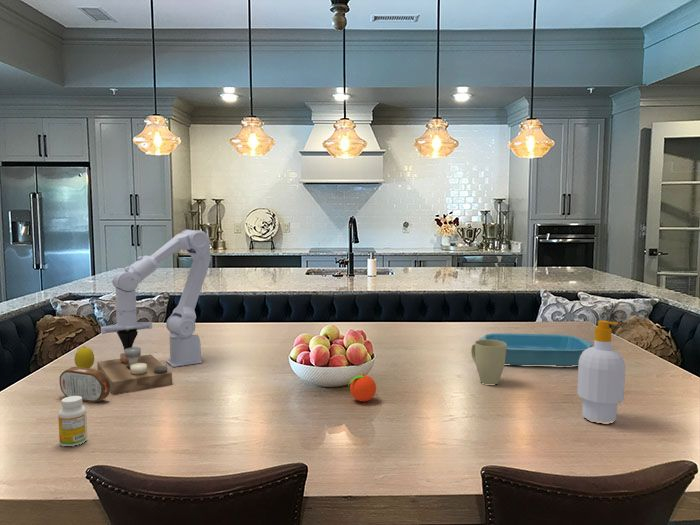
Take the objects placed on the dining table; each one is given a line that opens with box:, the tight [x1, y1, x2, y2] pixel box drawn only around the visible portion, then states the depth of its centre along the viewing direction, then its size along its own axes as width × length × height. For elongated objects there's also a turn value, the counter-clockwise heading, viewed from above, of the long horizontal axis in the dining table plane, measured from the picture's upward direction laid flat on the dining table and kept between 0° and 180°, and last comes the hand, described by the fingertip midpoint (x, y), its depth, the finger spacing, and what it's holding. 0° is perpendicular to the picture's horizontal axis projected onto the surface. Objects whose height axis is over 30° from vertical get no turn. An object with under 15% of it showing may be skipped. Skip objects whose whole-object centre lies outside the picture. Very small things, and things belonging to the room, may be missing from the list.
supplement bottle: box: [57, 396, 88, 447], centre depth 118 cm, size 5×5×10 cm
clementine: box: [347, 374, 377, 403], centre depth 145 cm, size 8×7×7 cm
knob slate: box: [124, 346, 142, 367], centre depth 163 cm, size 4×4×5 cm
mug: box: [470, 339, 507, 385], centre depth 161 cm, size 11×10×12 cm
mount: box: [96, 353, 173, 395], centre depth 163 cm, size 16×24×5 cm, turn 34°
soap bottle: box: [576, 319, 626, 422], centre depth 132 cm, size 10×10×24 cm
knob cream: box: [130, 363, 147, 375], centre depth 157 cm, size 4×4×5 cm
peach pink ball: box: [119, 352, 129, 364], centre depth 169 cm, size 4×4×5 cm
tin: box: [59, 366, 111, 403], centre depth 145 cm, size 15×3×8 cm, turn 71°
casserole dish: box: [478, 332, 594, 366], centre depth 185 cm, size 37×22×7 cm, turn 84°
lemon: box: [74, 345, 95, 369], centre depth 170 cm, size 6×6×8 cm
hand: (127, 354), depth 169 cm, fingers closed, pressing on peach pink ball
